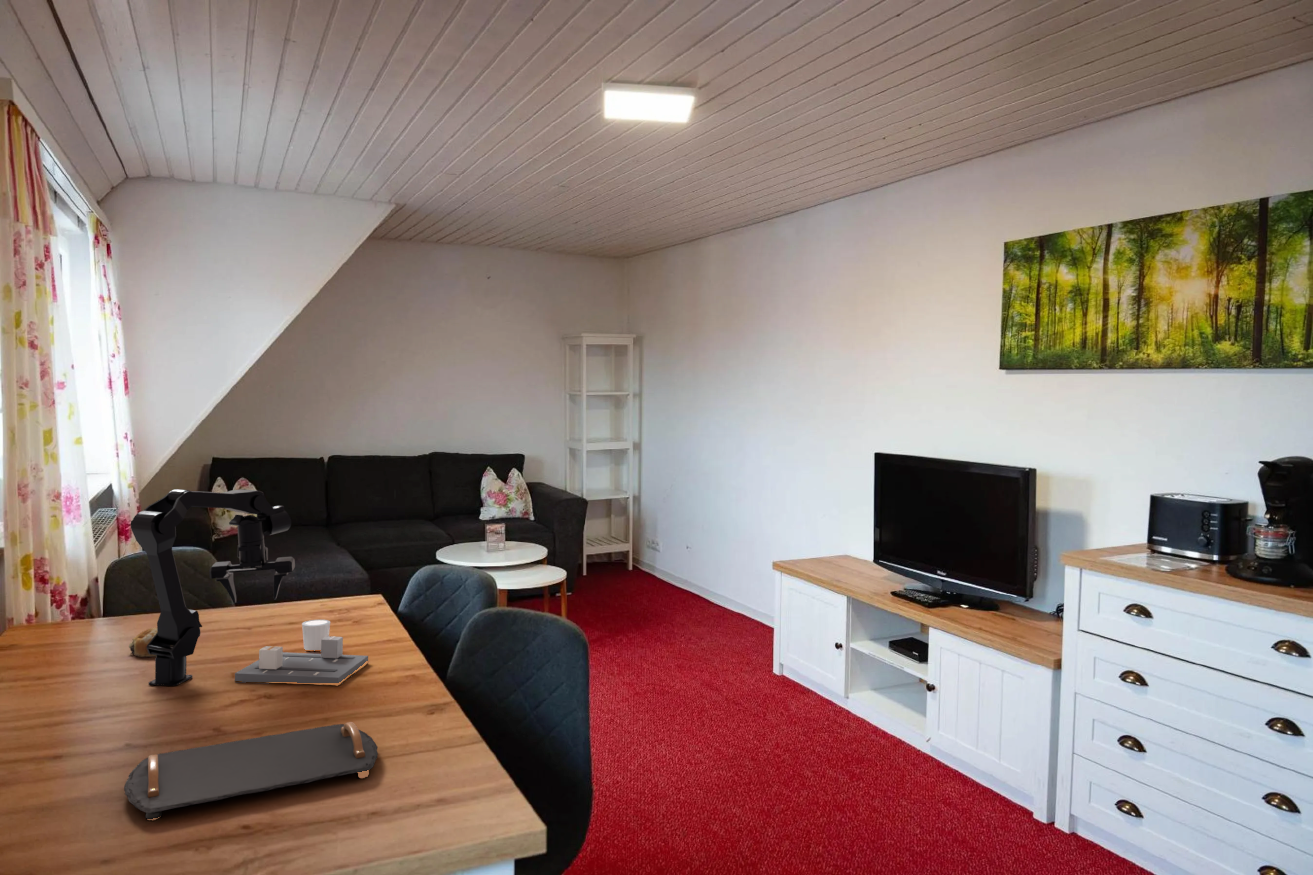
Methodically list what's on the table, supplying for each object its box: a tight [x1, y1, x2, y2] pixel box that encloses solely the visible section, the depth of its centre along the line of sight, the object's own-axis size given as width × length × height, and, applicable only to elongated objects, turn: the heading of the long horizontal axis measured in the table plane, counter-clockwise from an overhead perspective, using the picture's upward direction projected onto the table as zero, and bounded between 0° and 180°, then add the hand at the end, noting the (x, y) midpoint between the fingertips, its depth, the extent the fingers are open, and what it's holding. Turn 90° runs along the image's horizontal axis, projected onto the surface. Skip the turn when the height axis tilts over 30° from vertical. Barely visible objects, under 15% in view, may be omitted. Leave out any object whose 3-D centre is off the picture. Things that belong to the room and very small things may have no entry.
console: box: [234, 651, 369, 683], centre depth 198 cm, size 17×24×2 cm
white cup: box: [301, 619, 331, 651], centre depth 217 cm, size 7×7×7 cm
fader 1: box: [258, 645, 284, 669], centre depth 194 cm, size 3×4×4 cm
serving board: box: [123, 721, 379, 819], centre depth 143 cm, size 39×23×6 cm, turn 121°
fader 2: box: [320, 635, 344, 658], centre depth 203 cm, size 3×4×4 cm
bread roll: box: [128, 627, 174, 658], centre depth 211 cm, size 10×10×8 cm
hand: (255, 600), depth 209 cm, fingers open, 9 cm apart
